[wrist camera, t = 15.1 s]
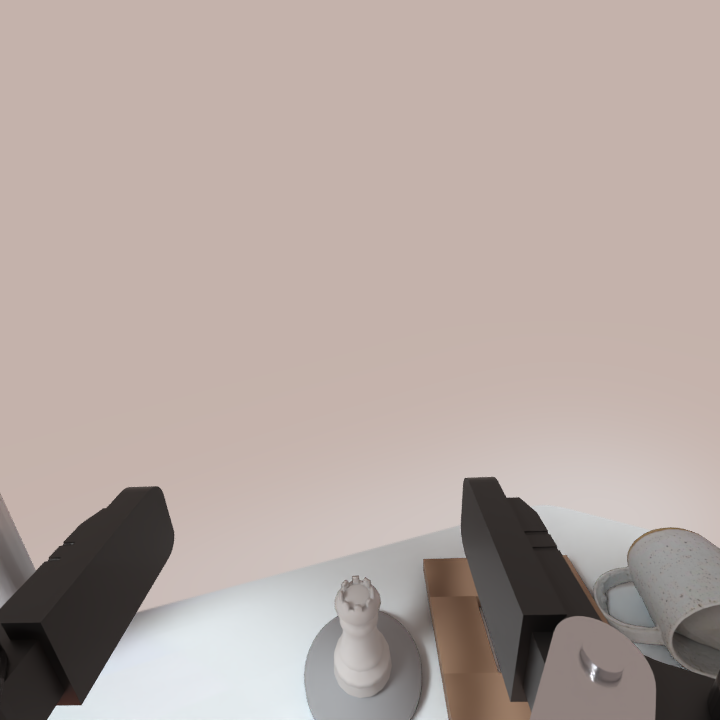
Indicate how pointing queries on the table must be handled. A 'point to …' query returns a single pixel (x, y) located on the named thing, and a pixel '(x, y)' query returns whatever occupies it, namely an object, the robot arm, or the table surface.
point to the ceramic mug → (673, 596)
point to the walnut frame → (470, 644)
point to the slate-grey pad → (385, 708)
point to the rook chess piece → (360, 640)
